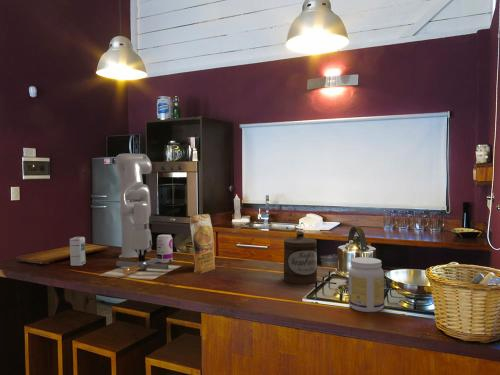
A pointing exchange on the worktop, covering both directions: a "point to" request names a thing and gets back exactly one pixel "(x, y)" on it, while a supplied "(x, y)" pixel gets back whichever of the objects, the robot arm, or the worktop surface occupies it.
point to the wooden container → (300, 259)
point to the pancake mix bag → (202, 243)
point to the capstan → (141, 265)
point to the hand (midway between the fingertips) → (141, 262)
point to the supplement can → (164, 248)
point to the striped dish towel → (140, 273)
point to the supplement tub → (366, 284)
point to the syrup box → (77, 251)
